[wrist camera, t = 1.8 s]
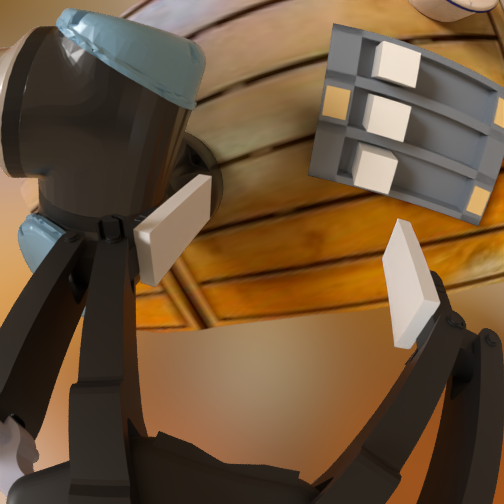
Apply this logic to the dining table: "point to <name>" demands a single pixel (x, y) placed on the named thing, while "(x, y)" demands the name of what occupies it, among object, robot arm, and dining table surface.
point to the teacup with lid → (452, 8)
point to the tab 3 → (373, 167)
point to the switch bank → (413, 126)
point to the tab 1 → (396, 64)
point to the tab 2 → (386, 117)
